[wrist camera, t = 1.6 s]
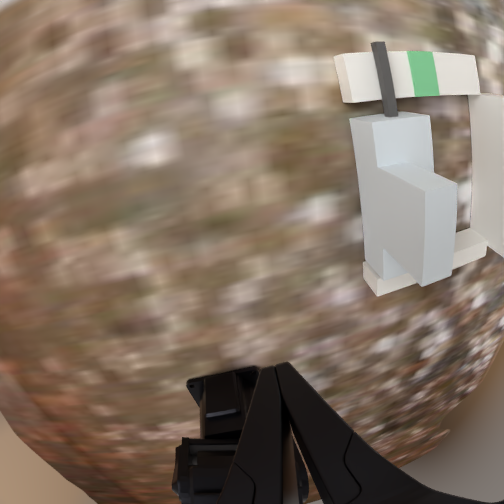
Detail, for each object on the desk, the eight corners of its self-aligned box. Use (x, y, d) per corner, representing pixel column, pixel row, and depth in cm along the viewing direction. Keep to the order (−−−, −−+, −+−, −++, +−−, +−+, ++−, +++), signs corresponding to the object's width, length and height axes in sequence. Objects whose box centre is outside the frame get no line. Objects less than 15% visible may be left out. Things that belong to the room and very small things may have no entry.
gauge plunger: (410, 245, 22) (470, 300, 15) (365, 259, 22) (417, 323, 15) (390, 45, 15) (470, 33, 9) (334, 48, 15) (402, 25, 9)
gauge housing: (489, 235, 23) (524, 260, 19) (363, 278, 23) (392, 317, 19) (485, 58, 16) (530, 60, 11) (333, 56, 16) (370, 45, 11)
